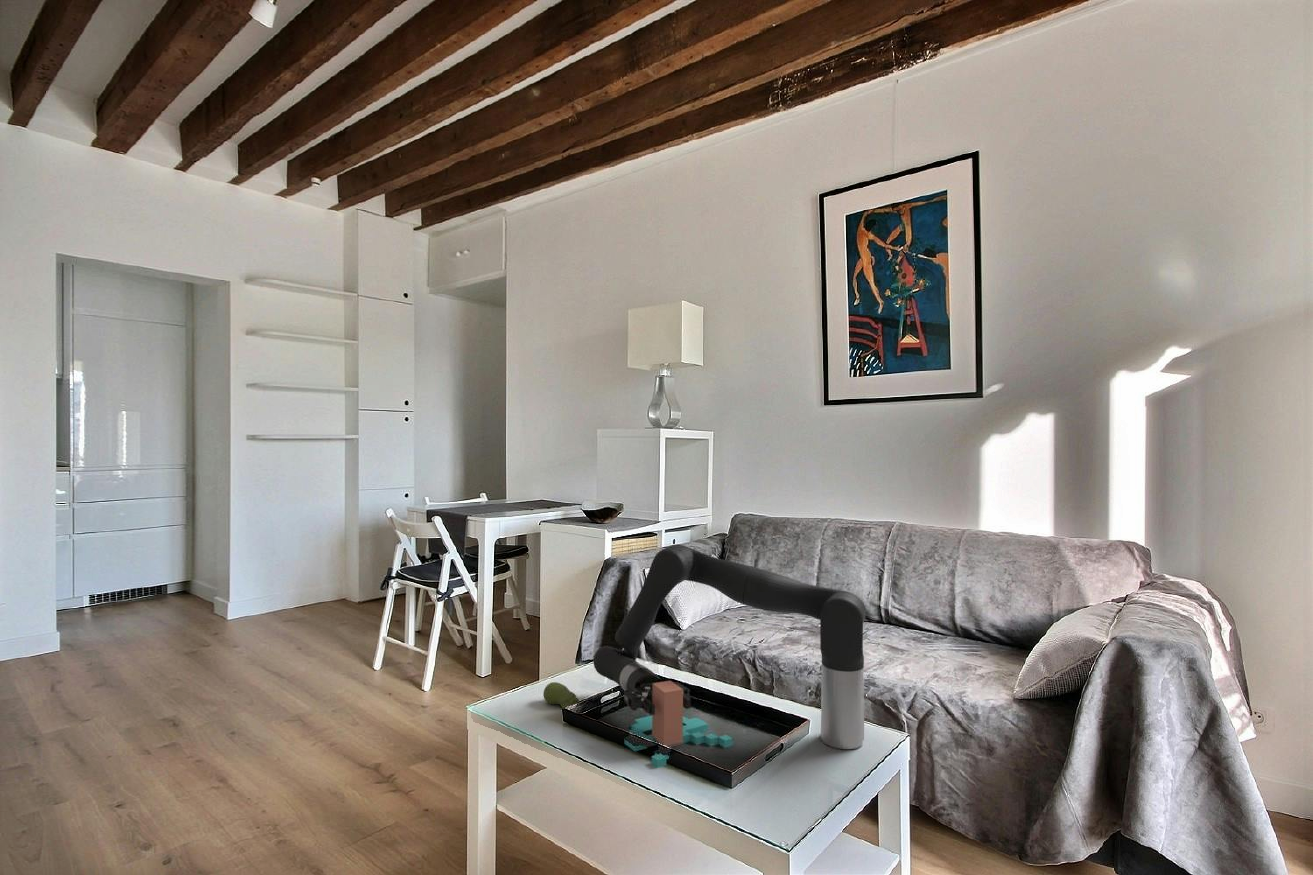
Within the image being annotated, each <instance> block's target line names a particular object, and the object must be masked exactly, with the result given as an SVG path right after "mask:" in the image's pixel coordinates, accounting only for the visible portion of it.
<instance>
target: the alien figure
mask: <svg viewBox="0 0 1313 875" xmlns="http://www.w3.org/2000/svg"><path fill="white" fill-rule="evenodd" d="M630 726H631V729H630V730H628V731H630V732H631V733H633V734H636V735H638V736H640V737H643V738H647V739H651V740H653V741H654V742H657V741H656V740H654V739H653V738H652V715H649V716H644V717H640V718H637V719H634V723H633V724H630ZM707 732H709V724H708V723H707V722H705V721H704V720H702V719H701V718H698V717H694V718H690V719H689V718H688V717H686V716H684V715H683V744H686V743H690V742H691V743H693V744H694V745H696V746H697V745H701V744H704V743H705V744H706V745H708V746H709V747H712V746H716V745H720V746H721V747H722V748H724V749H725V748H728V747H729V748H730V747H732V746H733V745H734V743H733V738H732V736H729V735H728V734H724V735H721V736H718V735H716V734H714V733H709V734H703V733H707ZM657 743H658V742H657ZM624 745H626V746H627V747H628V748H630V749H631V750H632V751H634V752H638V751H641V750H645V749H648V748H647V747H645V746H641V745H639V746H633V745H632V744H631V743H629V742H628V741H626V740H625V739H624ZM671 748H672V749H673V747H671ZM669 759H670V755H669V756H668V755H662V754H661V753H660V754H657V753H655V752H654V755H652V756H651V765H652V766H653V767H655V768H656V769H659V768H663V767H665V766H667V760H669Z"/></svg>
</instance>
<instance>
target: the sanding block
mask: <svg viewBox="0 0 1313 875" xmlns="http://www.w3.org/2000/svg"><path fill="white" fill-rule="evenodd" d="M652 703H653V704H654V705H655V715H652V738H653V739H654V740H656V741H657V742H658V743H660V744H662V745H667V746H668V747H672V748H674V747H677V746H681V745H683V744H684V743H683V716H684V714H683V713H684V707H683V689H682V688H680V687H679V686H678V685H676V684H675V683H674V681H672V680H665V681H662V682H658V683H653V692H652Z"/></svg>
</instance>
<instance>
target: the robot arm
mask: <svg viewBox="0 0 1313 875" xmlns="http://www.w3.org/2000/svg"><path fill="white" fill-rule="evenodd" d="M685 581H688V582H694V583H698V584H701V585H706V586H707V587H708V586H709V587H711V588H714V589H715V590H717V591H718V592H720V593H722V594H723V595H725V596H726V597H727V598H729V599H731V600H732V601H734V602H737V603H739V604H742V605H743V606H747V607H751V608H753V609H754V608H755V609H758V610H761V611H767V612H772V613H773V612H775V613H790V614H801V615H804V616H808V617H811V618H814V619H817V620H819V622H820V623H819V624H820V625H819V631H820V632H819V633H820V634H819V638H820V639H819V642H820V645H819V647H820V650H819V651H820V653H821V654H820V655H821V689H820V690H821V691H820V693H821V694H820V695H821V696H820V697H821V698H820V700H821V703H820V704H821V705H820V710H821V711H820V740H821V742H822V743H824V744H826V745H827V746H829V747H832V748H836V749H841V750H852V749H853V750H855V749H858V748H861V747H862V746H863V744H864V743H863V742H864V739H865V697H864V685H865V684H864V680H865V679H864V677H865V676H864V672H865V670H864V669H865V666H864V665H865V656H864V649H863V648H864V639H863V638H864V623H865V620H866V617H867V616H866V615H867V608H866V606H865V604H864V602H863V600H862V599H861V598H860V597H859V596H857V595H856V594H854V592H853V593H852V592H850V591H847V590H843V589H842V590H841V589H835V588H828V587H823V586H817V585H814V584H809V583H805V582H803V581H799V580H798V579H794V578H791V577H788V576H784V575H781V574H779V573H775V572H772V571H769V570H767V569H766V570H765V569H763V568H758V567H756V566H755V567H754V566H751V565H746V564H742V563H739V562H735V561H731V560H726V559H721V558H717V557H714V556H711V555H710V554H706V553H703V552H701V551H699V550H697V549H694V548H691V547H688V546H685V545H682V544H671V545H669V546H667V547H665V548H662V549H660V551H658V552H657V553H656V555H654V558H653V559H652V562H651V564H650V567H649V569H648V573H647V575H646V576H645V580H644V583H643V585H642V587H641V589H640V591H639V593H638V595H637V597H636V599H635V601H634V602H633V604H632V605H631V607H630V609H629V611H628V612H627V614H626V615H625V617H624V619H623V620H622V622H621V624H620V626H619V627H618V628H617V631H616V632H615V636H614V640H615V642H616V643H617V645H618V646H620V648H622V649H620V648H615V647H613V646H608V645H604V646H602V647H601V646H600V648H598V649H597V650H596V652H595V653H594V656H593V667H594V669H595V671H596V673H597V674H599V675H600V676H603V677H604V678H606V679H608V680H610V681H612V682H614V683H616V684H617V685H618V686H619V687H620V688H622V690H624V693H623V695H624V696H623V700H624V703H625V704H626V706H627V707H629V708H630V710H632V711H637V710H638V709H639V710H641V711H644V712H645V713H646V714H649V716H651V715H655V705H654V704H653V703H652V692H653V683H658V682H663V681H662V679H661V678H660V676H659V675H657V673H655V672H654V671H652V670H651V669H650V668H648V667H646V666H645V665H643V664H641V663H639V662H638V661H637V657H638V654H639V651H640V647H641V645H642V644H643V642H644V640H645V639H646V637H647V635H648V634H649V633H650V630H651V629H652V626H653V624H654V622H655V620H656V618H657V617H656V616H657V614H658V612H659V609H660V608H661V605H662V604H663V602H664V601H665V599H666V598H667V596H668V595H669V594H670V593H671V591H672V590H673V589H674V588H675V587H676V586H677V585H679V584H681V583H683V582H685ZM673 683H675V684H676V685H678V686H679V687H680V688H682V689H683V709H684V708H685V709H686V710H687V709H688V710H689V709H690V708H691V704H692V703H691V702H692V701H691V698H690V688H688V687H686V686H684V685H683V684H681V683H680V682H678V681H676V682H675V681H673Z"/></svg>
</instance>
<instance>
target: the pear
mask: <svg viewBox="0 0 1313 875" xmlns="http://www.w3.org/2000/svg"><path fill="white" fill-rule="evenodd" d="M543 698H544V701H545V702H546V703H547V704H549V705H560V707H561V709H562V710H564V708H565V707H567V706H570V705H573V704H576V703H578V704H579V703H580V701H579V698H578V697H577V695H576V694H575V693H574V692H572V691H570V689H568V687H567V686H566V685H564V684H563V683H561V682H558V681H557V682H556V681H554V682H550V683H548V684H547V685H546V686H545V687H544V689H543Z"/></svg>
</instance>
